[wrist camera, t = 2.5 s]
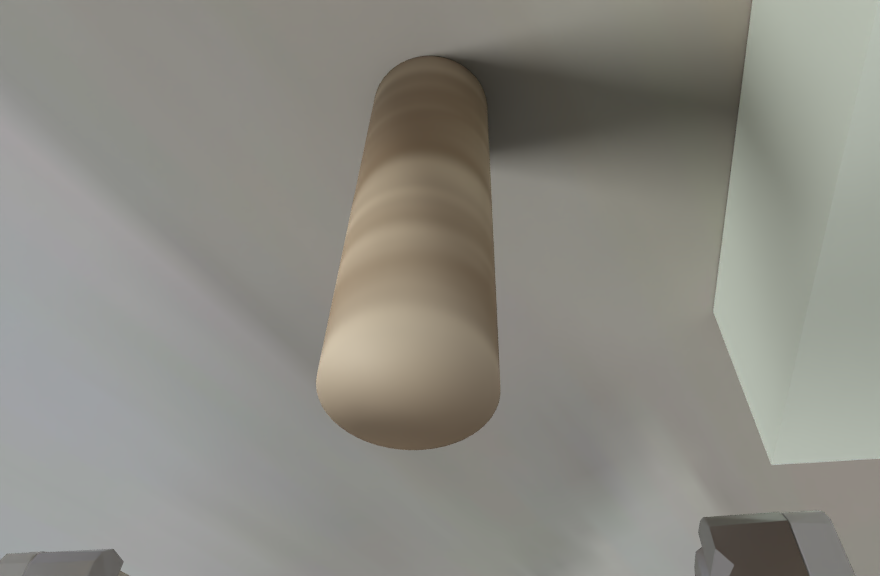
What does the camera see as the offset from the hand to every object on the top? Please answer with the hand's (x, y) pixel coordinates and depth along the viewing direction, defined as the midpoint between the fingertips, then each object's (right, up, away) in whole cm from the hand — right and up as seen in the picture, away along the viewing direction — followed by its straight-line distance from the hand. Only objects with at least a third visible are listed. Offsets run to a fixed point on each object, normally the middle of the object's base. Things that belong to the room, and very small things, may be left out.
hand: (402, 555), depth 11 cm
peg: (0, +8, +9) cm, 13 cm away
